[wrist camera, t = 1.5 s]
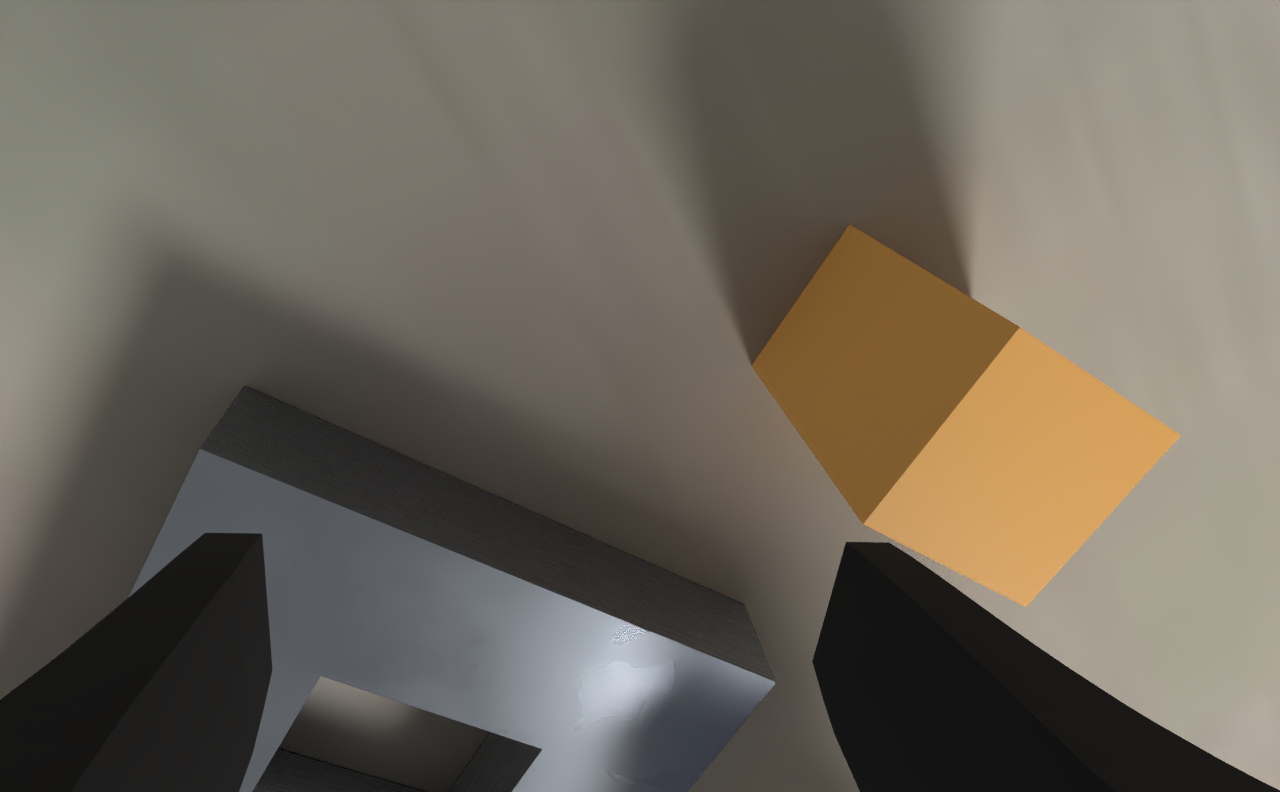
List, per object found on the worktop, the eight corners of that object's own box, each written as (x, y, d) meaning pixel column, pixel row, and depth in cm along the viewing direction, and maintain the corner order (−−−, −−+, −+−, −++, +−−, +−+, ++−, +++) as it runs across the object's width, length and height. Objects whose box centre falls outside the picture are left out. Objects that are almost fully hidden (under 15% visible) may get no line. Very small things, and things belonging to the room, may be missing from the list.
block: (972, 305, 20) (1180, 435, 14) (873, 434, 22) (1026, 607, 15) (849, 224, 19) (1019, 327, 13) (751, 365, 20) (862, 524, 14)
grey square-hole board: (744, 604, 23) (775, 682, 20) (503, 918, 27) (503, 1018, 24) (244, 385, 18) (199, 448, 16) (40, 803, 22) (-23, 911, 20)
